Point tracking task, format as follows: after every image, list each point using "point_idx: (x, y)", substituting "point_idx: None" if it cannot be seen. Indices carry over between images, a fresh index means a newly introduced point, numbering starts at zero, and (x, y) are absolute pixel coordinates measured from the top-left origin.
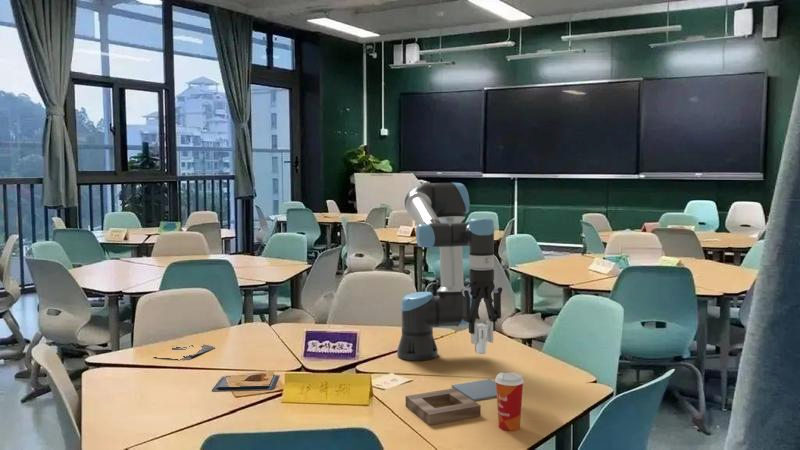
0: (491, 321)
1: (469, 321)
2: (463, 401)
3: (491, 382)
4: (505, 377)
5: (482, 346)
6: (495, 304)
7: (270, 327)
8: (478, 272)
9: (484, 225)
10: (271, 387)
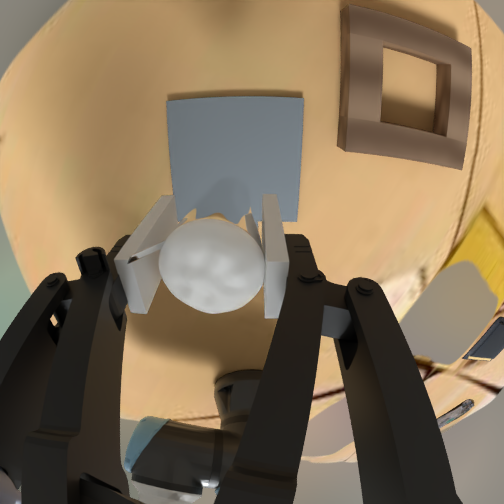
0: (122, 275)
1: (350, 280)
2: (376, 50)
3: (183, 196)
4: None
5: (232, 185)
6: (33, 383)
7: (349, 457)
8: None
9: None
10: (498, 321)
